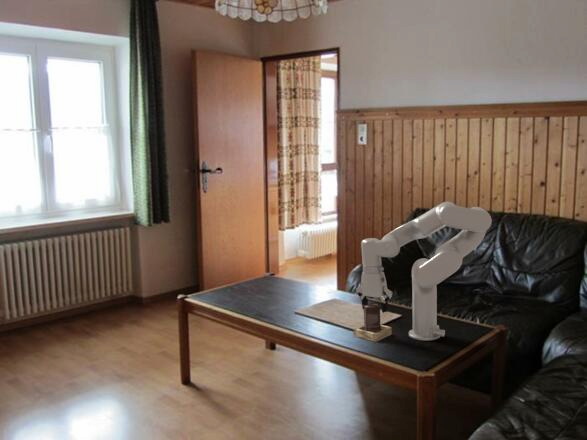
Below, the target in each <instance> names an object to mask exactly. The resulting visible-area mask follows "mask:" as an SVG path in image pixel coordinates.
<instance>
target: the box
mask: <svg viewBox="0 0 587 440" xmlns="http://www.w3.org/2000/svg"><path fill="white" fill-rule="evenodd" d="M363 323H364V324H363V325H364V330H365V331H369V332H373V333H376V332H378V331H381V327H380V325H381V306H380V305H379V303H371V304H370V303H369V304H368V305H364V309H363Z"/></svg>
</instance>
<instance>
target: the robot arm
mask: <svg viewBox="0 0 587 440" xmlns="http://www.w3.org/2000/svg"><path fill="white" fill-rule="evenodd" d="M492 222H493V221H492V217H491V214H490V213H489V212H488V211H487V210H485V209H484V208H482V207H480V206H473V207H471V208H470V207H464V206H459V205H456V204H455V203H453V202H451V201H443V202H442V203H439V204H438V205H436V206H435V207H432V208H431V209H430V210H428V211H426V212H424V213H423V214H421V215H420V216H417V217H416V218H413V219H412V220H410V221H408V222H406V223H404V224H402V225H400V226H399V227H397V228H395V229H393V230H392V231H390V232H389V233H387V234H385V235H384V236H383V237H382V238H381V239H378V238H375V237H369V238H364V239H362V240H361V242H360V248H361V258H362V259H361V260H362V261H361V262H362V272H361V279H360V281H361V283H360V285H359V286H357V287H355V291H356V293H357V295H358V297H359V298H360V300H361V306H362V310H364V305H369V299H368V297H369V298H376V299H380V300H381V302H382V303H381V312H382V313H387V312H388V311H389V303H388V302H389V301H390V300H391V299H392V297H393V291H392V290H390V289H388V285H387V279H386V276H385V272H384V270H385V268H384V267H383V266H382V265H383V264H382V258H394V257H397V256H398V254H399V253H400V250H401V247H403V246H404V245H407V244H409V243H410V242H412V241H416V240H419V239H426V238H428V237H429V236H431V235H433V234H435V233H436V232H438V231H440V230H442V229H443V228H445V227H448V228H453V229H458V230H461V231H459V232H458V233H457V234H456V235H455V236H453V237H452V238H450V239H449V240H447V241H446V242H445V243H443V244H442V245H439V246H438V247H437V249H436V250H435V253H434V256H433V257H431V258H430V259H429V258H425V257H424V258H419V259H417V260H416V261H415V262H414V263H413V264H412V268H411V285H412V286H411V287H412V289H411V290H412V295H411V297H412V298H411V299H412V301H411V302H412V329H410V330H409V331H408V337H410V338H412V339H414V340H417V341H426V342H427V341H434V340H437V339H440V338H441V337H442V338H443V337H445V336H446V335H445V334H446V330H445V329H440V325H438V323H437V320H438V319H437V318H438V317H437V315H438V314H437V313H438V312H437V308H438V307H437V301H438V300H437V299H438V296H437V295H438V293H437V291H438V290H437V285H438V284H440V283H442V282H443V281H445V280H446V279H448V278H449V277H450V276H452V275H453V274H455V273H456V272H457V271H458V270H459V269H460V268H461V266H462V265H463V259H464V257H466V256H467V255H469V254H470V253H472V251H474V250H475V249H476V248H477V247H478V246H480V244H481V243H482V242H483V240H484V238H485V236H486V233H487V230H489V228H491V226H492Z"/></svg>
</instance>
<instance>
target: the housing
mask: <svg viewBox="0 0 587 440" xmlns="http://www.w3.org/2000/svg"><path fill="white" fill-rule="evenodd" d="M380 327H381V331H378V332H376V333H373V332H369V331H365V330H364V324H362V325H360V326H357V327H355V328H353V337H356V338H360V339H364V340H368V341H372V342H375V343H377V342H378V341H381V340H383V339H384V338H387V337H389V336H391V335H392V334H393V333H392V327H391V326H388V325H383V324H380Z"/></svg>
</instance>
